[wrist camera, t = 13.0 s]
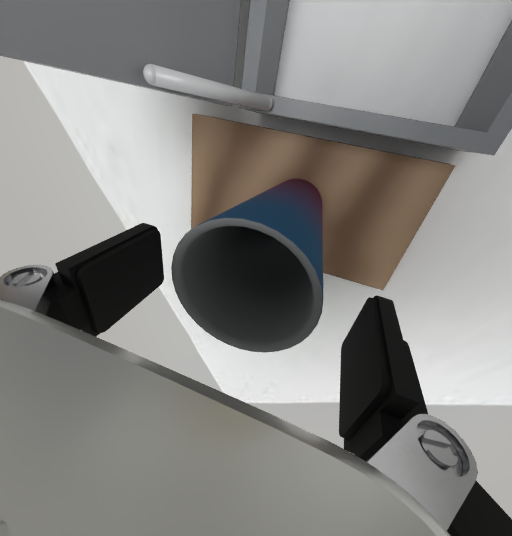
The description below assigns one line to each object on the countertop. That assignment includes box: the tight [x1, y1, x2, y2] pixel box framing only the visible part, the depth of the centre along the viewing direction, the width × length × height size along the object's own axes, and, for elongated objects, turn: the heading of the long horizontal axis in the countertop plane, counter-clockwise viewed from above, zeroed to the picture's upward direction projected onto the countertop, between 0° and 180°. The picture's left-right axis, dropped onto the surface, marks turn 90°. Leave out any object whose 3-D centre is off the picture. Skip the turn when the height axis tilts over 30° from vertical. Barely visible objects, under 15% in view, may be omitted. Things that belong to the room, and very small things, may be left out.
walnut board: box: [191, 114, 455, 290], centre depth 23 cm, size 22×12×1 cm, turn 80°
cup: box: [172, 179, 323, 352], centre depth 16 cm, size 7×7×15 cm
